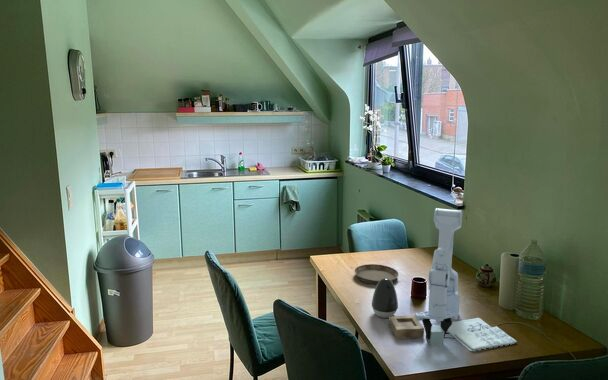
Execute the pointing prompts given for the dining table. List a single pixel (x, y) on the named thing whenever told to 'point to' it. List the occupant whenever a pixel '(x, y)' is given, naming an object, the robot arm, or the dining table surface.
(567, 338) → the dining table surface
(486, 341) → the paper napkin stack
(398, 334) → the square wooden tray
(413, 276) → the dining table surface
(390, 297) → the dark grey egg shape
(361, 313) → the dining table surface
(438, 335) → the blue block
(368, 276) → the plant saucer
